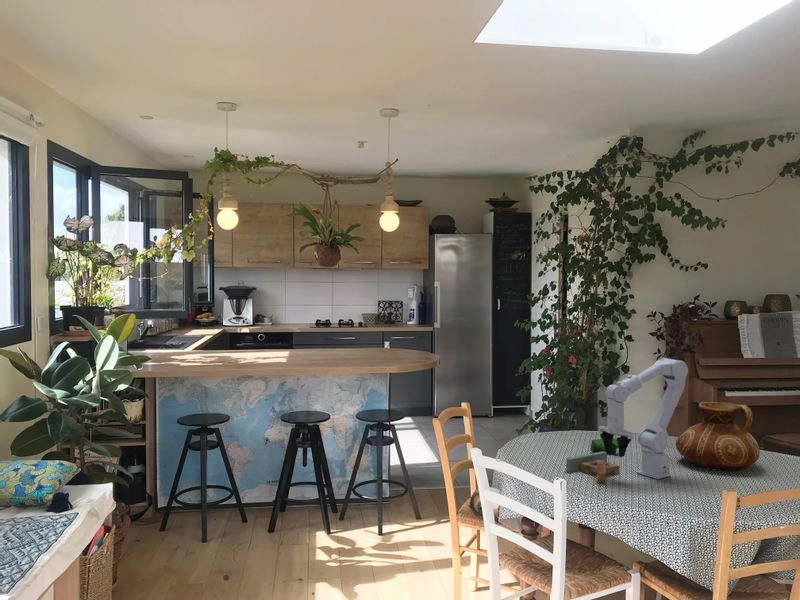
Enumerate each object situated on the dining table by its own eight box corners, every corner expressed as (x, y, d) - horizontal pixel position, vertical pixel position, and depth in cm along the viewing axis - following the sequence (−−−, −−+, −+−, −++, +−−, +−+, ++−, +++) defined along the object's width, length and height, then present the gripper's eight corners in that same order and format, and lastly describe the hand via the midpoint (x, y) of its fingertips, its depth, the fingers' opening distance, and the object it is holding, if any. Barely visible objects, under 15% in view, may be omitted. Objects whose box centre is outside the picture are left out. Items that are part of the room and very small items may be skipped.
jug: (671, 468, 253) (672, 404, 253) (678, 450, 280) (679, 392, 279) (760, 479, 239) (761, 411, 239) (758, 460, 266) (759, 398, 265)
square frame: (619, 473, 246) (619, 465, 246) (600, 477, 241) (600, 469, 240) (598, 467, 254) (598, 459, 254) (580, 470, 249) (580, 463, 249)
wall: (606, 465, 257) (606, 452, 257) (570, 472, 247) (570, 459, 246) (602, 463, 259) (602, 451, 259) (566, 471, 248) (566, 458, 248)
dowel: (607, 482, 235) (607, 463, 235) (601, 483, 233) (601, 464, 233) (600, 480, 237) (601, 461, 237) (595, 481, 236) (595, 462, 236)
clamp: (600, 466, 272) (595, 448, 269) (592, 458, 277) (588, 441, 274) (625, 454, 273) (621, 436, 270) (617, 447, 279) (613, 429, 276)
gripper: (592, 415, 245) (592, 451, 245) (624, 422, 232) (623, 460, 233) (605, 413, 248) (605, 449, 249) (637, 420, 236) (637, 457, 236)
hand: (615, 454), depth 241 cm, fingers open, 5 cm apart
